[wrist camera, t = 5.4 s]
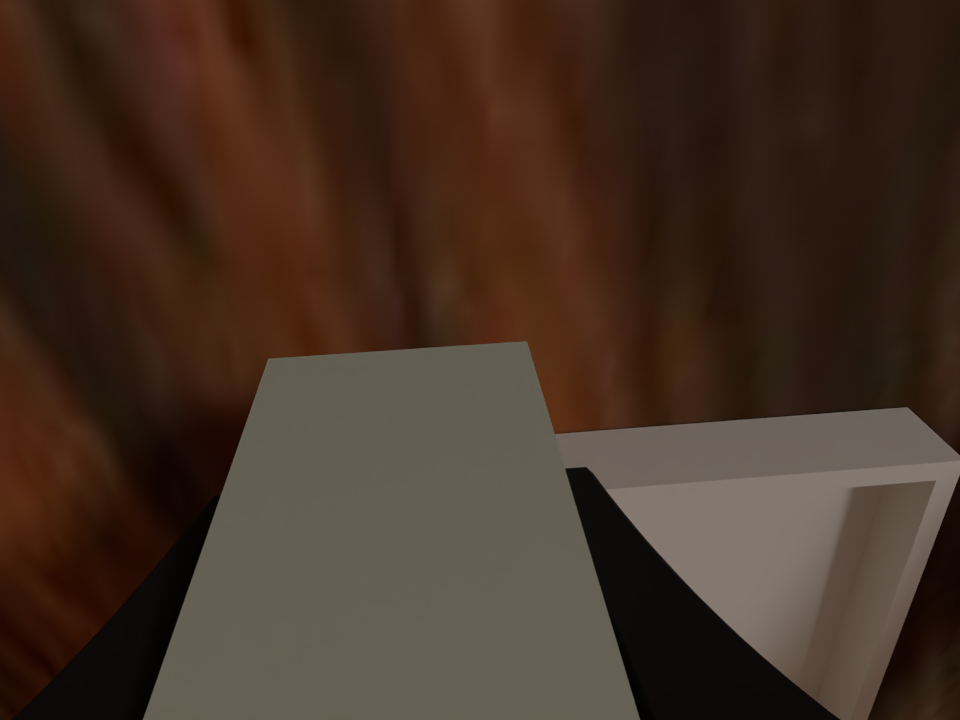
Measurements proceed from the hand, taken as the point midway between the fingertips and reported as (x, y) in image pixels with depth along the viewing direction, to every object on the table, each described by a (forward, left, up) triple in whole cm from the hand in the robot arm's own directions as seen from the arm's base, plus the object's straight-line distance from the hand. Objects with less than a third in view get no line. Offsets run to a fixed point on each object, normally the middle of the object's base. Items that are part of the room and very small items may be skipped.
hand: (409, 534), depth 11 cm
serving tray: (-6, +11, -8) cm, 15 cm away
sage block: (0, 0, -2) cm, 2 cm away
